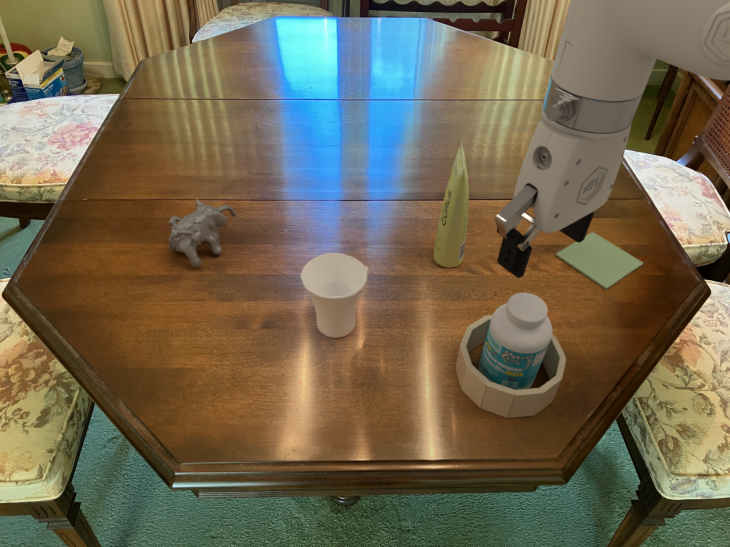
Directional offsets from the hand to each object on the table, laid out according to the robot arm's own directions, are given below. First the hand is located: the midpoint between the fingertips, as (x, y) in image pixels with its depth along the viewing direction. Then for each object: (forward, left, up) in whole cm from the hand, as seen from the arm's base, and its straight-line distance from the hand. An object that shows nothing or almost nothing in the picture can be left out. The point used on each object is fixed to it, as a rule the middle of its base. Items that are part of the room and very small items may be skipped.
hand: (540, 251), depth 59 cm
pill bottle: (0, 0, -22) cm, 22 cm away
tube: (+22, -10, -22) cm, 33 cm away
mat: (+7, -30, -22) cm, 38 cm away
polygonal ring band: (0, 0, -22) cm, 22 cm away
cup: (+21, +13, -22) cm, 33 cm away
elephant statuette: (+48, +21, -22) cm, 57 cm away
